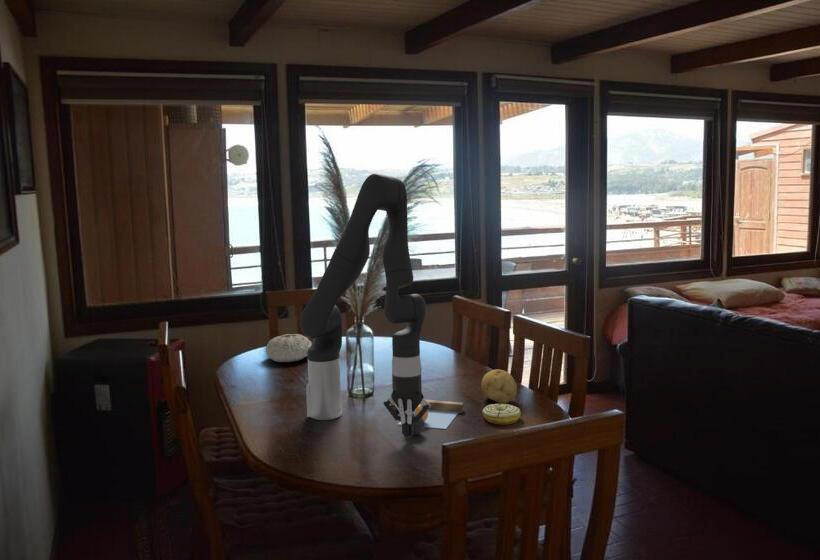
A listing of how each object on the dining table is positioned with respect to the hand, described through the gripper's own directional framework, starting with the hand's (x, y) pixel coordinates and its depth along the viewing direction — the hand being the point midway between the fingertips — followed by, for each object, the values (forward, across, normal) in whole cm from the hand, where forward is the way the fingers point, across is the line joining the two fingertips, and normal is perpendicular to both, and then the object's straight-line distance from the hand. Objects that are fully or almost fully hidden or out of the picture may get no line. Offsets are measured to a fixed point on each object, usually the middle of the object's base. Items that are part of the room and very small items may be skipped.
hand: (408, 436), depth 174 cm
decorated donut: (+2, +20, +23) cm, 31 cm away
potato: (+2, +16, +38) cm, 41 cm away
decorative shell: (+2, -72, +68) cm, 99 cm away
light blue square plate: (+2, 0, +18) cm, 18 cm away
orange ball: (-1, -2, +14) cm, 14 cm away
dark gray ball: (-1, 0, +5) cm, 5 cm away
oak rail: (+2, 0, +26) cm, 26 cm away
